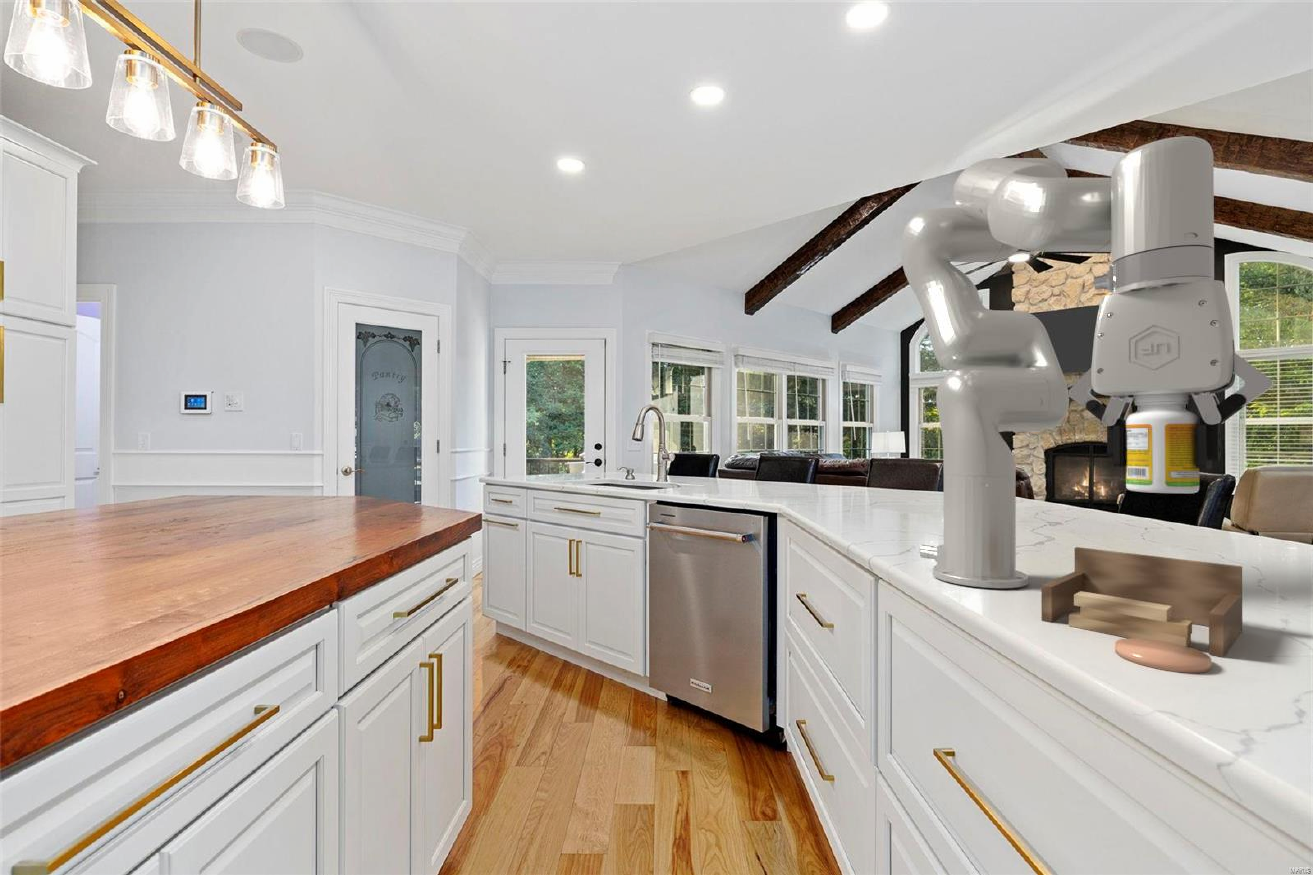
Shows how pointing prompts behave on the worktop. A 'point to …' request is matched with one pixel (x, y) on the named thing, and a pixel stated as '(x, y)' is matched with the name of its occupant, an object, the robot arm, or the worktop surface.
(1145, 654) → the terracotta coaster
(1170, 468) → the supplement bottle
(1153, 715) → the worktop surface
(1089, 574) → the frame
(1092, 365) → the robot arm
